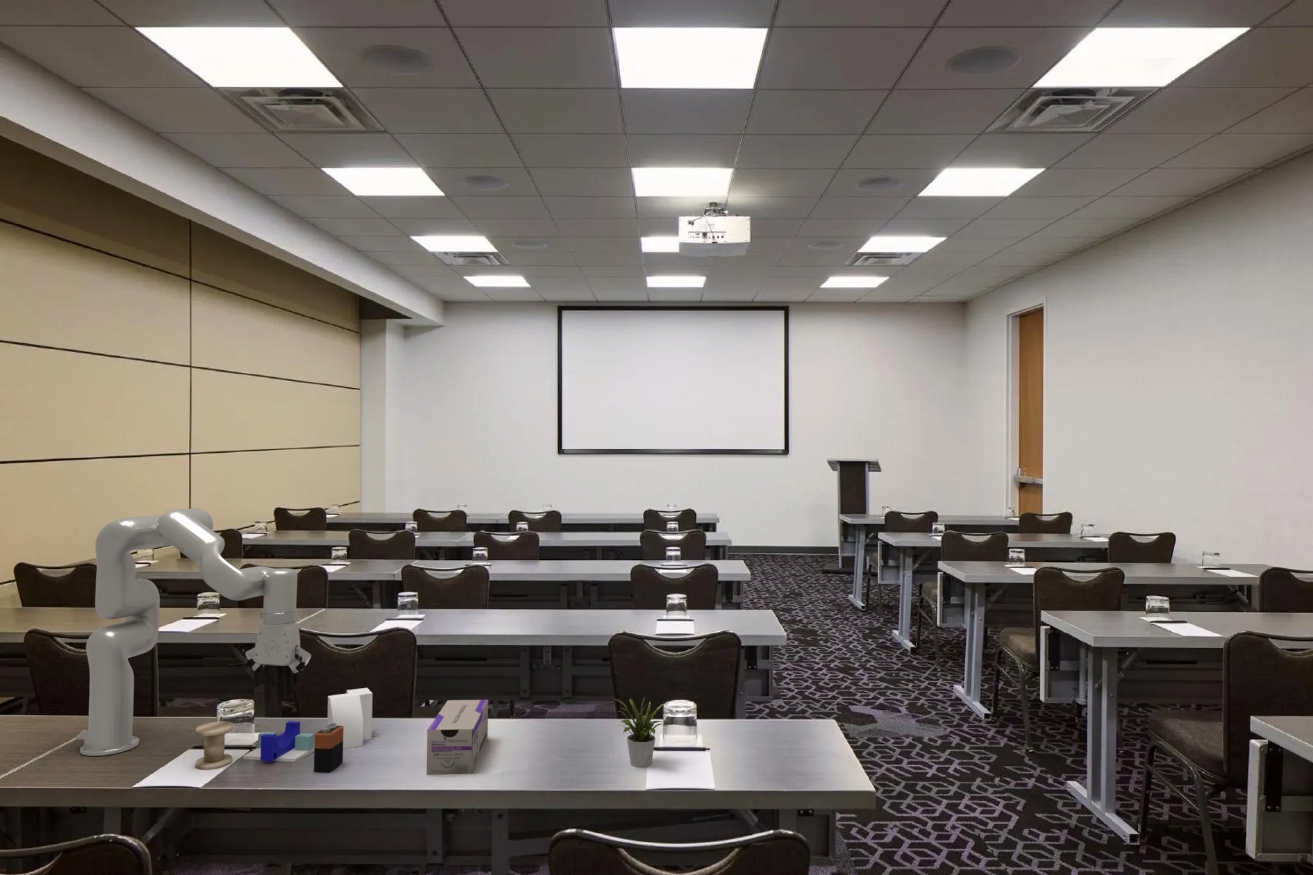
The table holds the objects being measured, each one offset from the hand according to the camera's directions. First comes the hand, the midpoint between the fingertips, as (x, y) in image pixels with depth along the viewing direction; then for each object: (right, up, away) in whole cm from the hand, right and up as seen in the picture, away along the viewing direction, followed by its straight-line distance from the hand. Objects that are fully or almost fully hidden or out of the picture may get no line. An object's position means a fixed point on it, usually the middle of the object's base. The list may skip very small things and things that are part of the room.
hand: (276, 686), depth 204 cm
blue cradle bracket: (0, -17, 0) cm, 17 cm away
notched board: (+1, -17, +1) cm, 17 cm away
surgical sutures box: (+46, -18, 0) cm, 49 cm away
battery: (+16, -17, -8) cm, 25 cm away
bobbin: (-13, -17, -6) cm, 22 cm away
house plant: (+91, -18, -5) cm, 92 cm away
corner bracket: (+14, -18, +11) cm, 26 cm away
